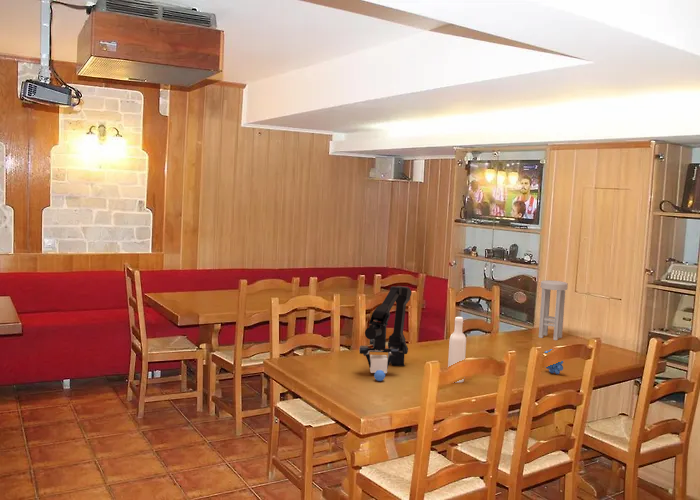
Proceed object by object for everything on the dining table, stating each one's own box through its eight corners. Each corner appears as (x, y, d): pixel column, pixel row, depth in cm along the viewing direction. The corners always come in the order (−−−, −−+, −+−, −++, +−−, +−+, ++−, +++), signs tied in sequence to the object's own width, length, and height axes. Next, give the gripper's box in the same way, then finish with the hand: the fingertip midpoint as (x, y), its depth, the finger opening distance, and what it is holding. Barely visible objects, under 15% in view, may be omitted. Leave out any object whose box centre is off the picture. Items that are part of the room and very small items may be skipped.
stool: (559, 341, 407) (563, 284, 404) (534, 337, 415) (538, 281, 412) (566, 337, 420) (570, 282, 417) (541, 333, 428) (545, 279, 425)
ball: (385, 378, 303) (384, 383, 307) (385, 368, 306) (384, 373, 310) (374, 378, 303) (373, 382, 307) (374, 367, 306) (373, 372, 310)
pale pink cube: (385, 369, 322) (386, 355, 322) (386, 373, 314) (387, 359, 314) (369, 368, 322) (370, 354, 321) (370, 372, 314) (371, 358, 314)
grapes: (537, 371, 334) (538, 348, 333) (544, 369, 339) (546, 346, 338) (557, 377, 326) (559, 353, 325) (565, 375, 330) (566, 351, 329)
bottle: (465, 379, 315) (469, 316, 313) (462, 383, 308) (466, 319, 305) (448, 377, 318) (452, 315, 315) (445, 381, 311) (449, 317, 308)
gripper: (397, 332, 325) (396, 364, 326) (359, 331, 324) (358, 362, 326) (400, 338, 314) (398, 370, 315) (360, 336, 313) (359, 369, 315)
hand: (378, 368), depth 318 cm, fingers closed on pale pink cube, 8 cm apart
